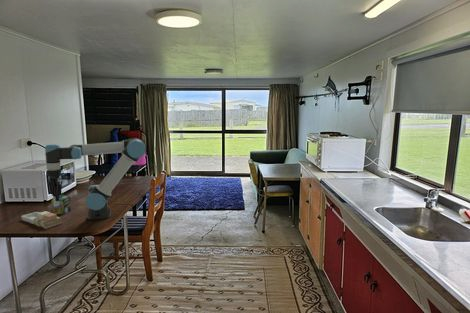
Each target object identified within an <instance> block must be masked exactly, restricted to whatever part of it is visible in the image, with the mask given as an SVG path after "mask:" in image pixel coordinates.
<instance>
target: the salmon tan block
mask: <svg viewBox="0 0 470 313" xmlns="http://www.w3.org/2000/svg"><path fill="white" fill-rule="evenodd" d="M57 217H58V214H53V213H52V212H50V213H49V214H46V215H44V220H47V221H52V220H55V219H57Z"/></svg>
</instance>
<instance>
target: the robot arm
mask: <svg viewBox="0 0 470 313" xmlns="http://www.w3.org/2000/svg"><path fill="white" fill-rule="evenodd" d="M146 149H147V148H146V144H145V143H144V142H143V141H142V140H141V139H140V138H130V139H124V140H122V141H117V142H116V141H114V142H100V143H99V142H98V143H86V144H85V143H84V144H72V145H70V146H68V147H62V146H61V147H60V144H57V143H56V144H55V143H51V144H45V148H44V152H45V153H44V154H45V162H46V163H45V166H46V175H47V177H48V179H46V181H47V184H48V188H49V193H50V195H51V196H52V199H53V202H54V206H59V195H61V196H62V194H61V193H62V190H63V189H62V186H63V180H60V179H61V178H60V176H61V175H62V170H61V168H62V167H61V165H62V164H61V160H62V161H63V160H80V159H82V157H84V156H95V155H96V156H97V155H107V154H109V155H110V154H119V153H121V156H120V158H119V159H118V160H117V162H116V163H115V164H114V165H113V167H112V168H111V170H110V171H109V172H108V173H107V174H106V176H105V177H104V178H103V180H101V182H100V183H99V184H93V185H92V184H91V185H89V186H88V189H87V190H88V194H87V197H86V199H85V205H86V206H87V208H88V212H87V215H86V216H87V219H88V220H89V221H101V220H105V219H109V218H110V217H111V216H112V212H111V209H110V207H109V203H108V200H109V199H110V198H111V197H112V191H113V190H114V189H115V187H117V185H118V183H119V182H120V181H121V179H122V178H123V177H124V176H125V174H126V173H127V172H128V171H129V169H131V167H132V165H134V164H135V163H137V162H139V160H140V159H141V158H142V157H143V156H144V155H145V154H146Z"/></svg>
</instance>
